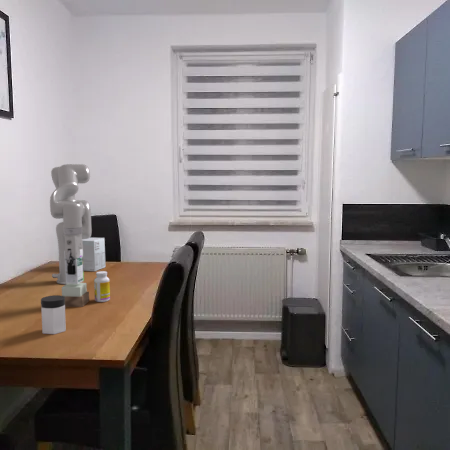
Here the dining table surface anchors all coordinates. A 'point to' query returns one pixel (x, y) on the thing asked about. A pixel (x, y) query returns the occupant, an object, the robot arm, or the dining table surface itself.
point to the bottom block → (76, 300)
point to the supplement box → (93, 254)
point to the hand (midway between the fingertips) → (74, 272)
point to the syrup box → (78, 270)
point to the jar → (53, 314)
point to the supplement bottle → (102, 287)
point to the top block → (74, 289)
